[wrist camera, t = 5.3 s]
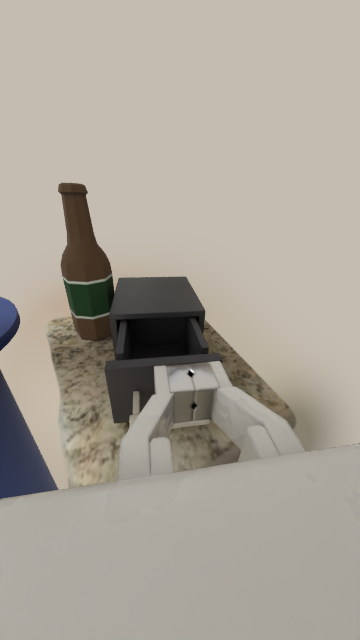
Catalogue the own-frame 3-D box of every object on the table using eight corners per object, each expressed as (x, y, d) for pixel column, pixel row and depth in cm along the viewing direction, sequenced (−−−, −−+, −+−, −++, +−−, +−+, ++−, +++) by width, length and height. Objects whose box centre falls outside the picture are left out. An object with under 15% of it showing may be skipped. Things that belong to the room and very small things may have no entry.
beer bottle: (66, 333, 40) (26, 181, 29) (98, 316, 47) (75, 185, 35) (97, 346, 37) (66, 181, 26) (126, 326, 43) (112, 185, 32)
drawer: (226, 447, 22) (239, 392, 18) (109, 464, 20) (96, 407, 16) (191, 344, 37) (194, 303, 33) (122, 349, 35) (117, 306, 32)
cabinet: (200, 365, 34) (205, 310, 29) (117, 372, 32) (108, 314, 27) (183, 320, 47) (186, 276, 42) (123, 322, 45) (118, 277, 40)
